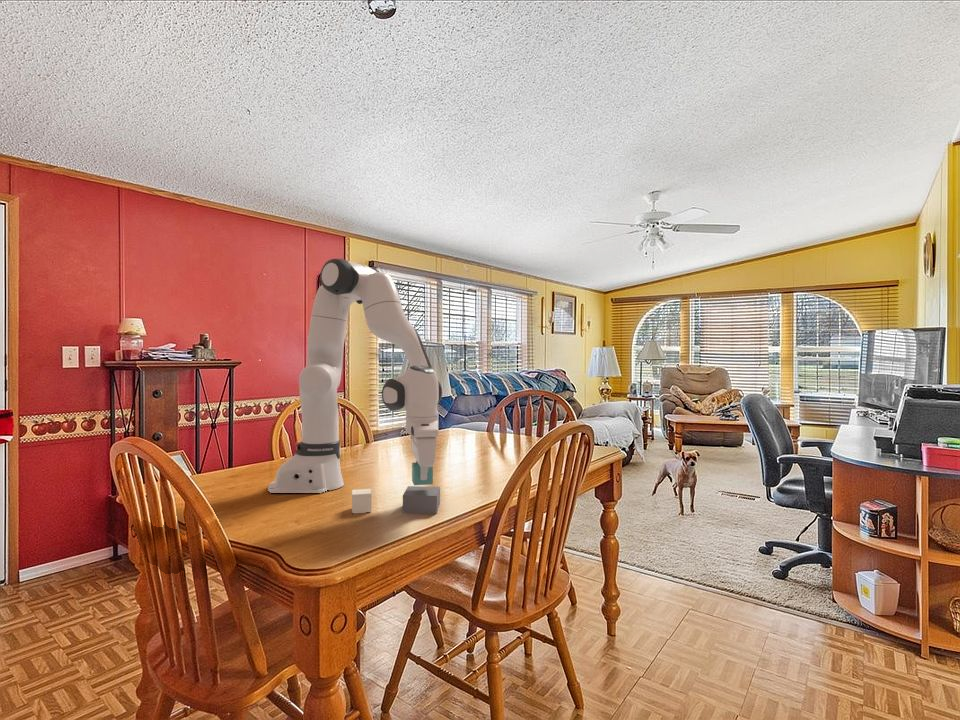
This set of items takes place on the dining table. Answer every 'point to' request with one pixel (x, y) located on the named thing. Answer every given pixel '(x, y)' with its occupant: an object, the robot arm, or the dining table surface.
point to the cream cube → (361, 500)
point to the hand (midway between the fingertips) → (421, 476)
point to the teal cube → (416, 475)
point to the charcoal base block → (421, 500)
